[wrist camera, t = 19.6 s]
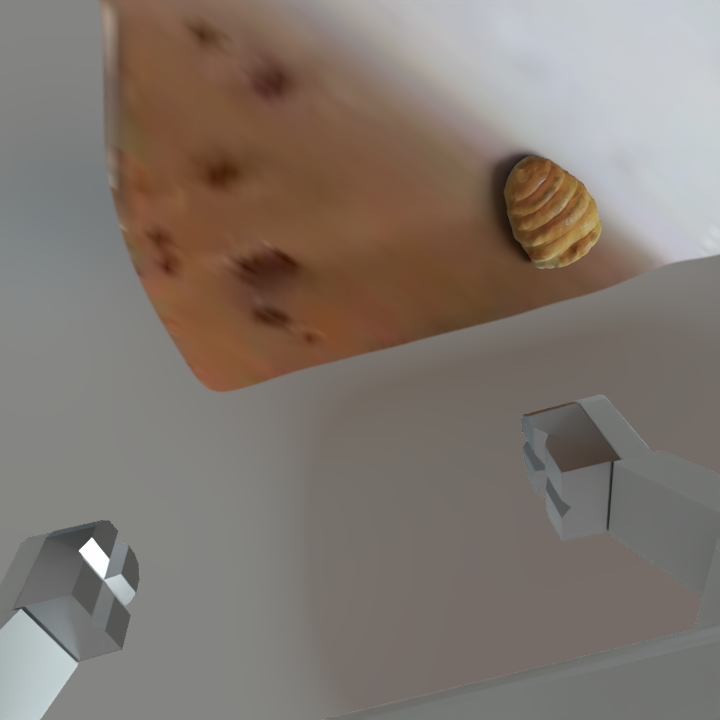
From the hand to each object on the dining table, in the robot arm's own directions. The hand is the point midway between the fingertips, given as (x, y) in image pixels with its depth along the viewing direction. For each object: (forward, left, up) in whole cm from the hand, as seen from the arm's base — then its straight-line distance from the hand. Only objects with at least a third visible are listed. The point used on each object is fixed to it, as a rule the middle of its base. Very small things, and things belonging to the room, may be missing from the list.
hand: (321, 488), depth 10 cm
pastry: (-19, +11, -36) cm, 42 cm away
